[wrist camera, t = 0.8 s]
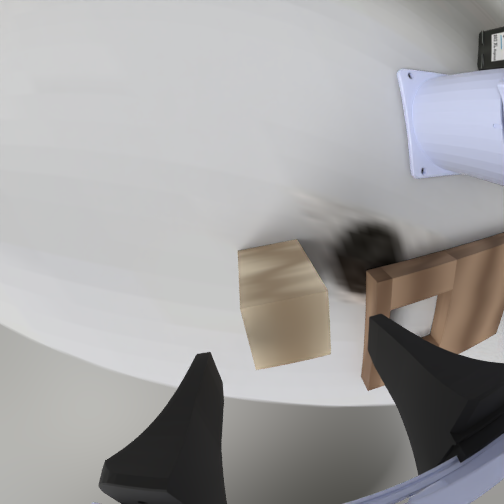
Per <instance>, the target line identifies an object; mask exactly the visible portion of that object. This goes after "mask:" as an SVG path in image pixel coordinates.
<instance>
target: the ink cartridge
mask: <svg viewBox="0 0 504 504" xmlns="http://www.w3.org/2000/svg"><path fill="white" fill-rule="evenodd" d="M478 68H479V69H480V70H489V69H500V68H504V27H500V28H495V29H491V30H488V31H481V33H480V34H479V50H478Z"/></svg>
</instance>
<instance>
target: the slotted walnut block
mask: <svg viewBox="0 0 504 504" xmlns="http://www.w3.org/2000/svg"><path fill="white" fill-rule="evenodd" d="M435 295H438V296H437V302H436V308H435V313H434V319H433V323H432V328H431V333H430V335H428V336H425V337H423V338H422V339H424V340H426V341H428V342H430V343H432V344H434V345H436V346H438V347H440V348H443V349H445V350H448V351H450V352H453V353H456V354H459V353H461V352H463V351H465V350H467V349H469V348H471V347H473V346H475V345H477V344H478V343H480V342H482V341H484V340H486V339H487V338H489V337H491V336H493V335H494V334H496V332H497V329H498V326H499V323H500V320H501V317H502V314H503V311H504V233H500V234H497V235H494V236H491V237H488V238H484V239H481V240H478V241H474V242H471V243H468V244H464V245H461V246H457V247H454V248H450V249H447V250H443V251H440V252H436V253H432V254H429V255H425V256H421V257H418V258H414V259H410V260H406V261H402V262H398V263H394V264H390V265H386V266H382V267H378V268H374V269H370V270H366V318H365V337H364V352H363V364H362V374H361V377H362V379H363V381H364V384H365V386H366V388H367V390H368V391H369V390H372V389H375V388H378V387H381V386H384V385H385V384H384V383H383V381H382V379H381V377H380V376H379V374H378V372H377V370H376V369H375V367H374V364H373V362H372V360H371V357H370V355H369V352H368V350H367V349H368V332H369V317H371V316H374V315H377V314H383V315H385V316H386V317H388V318H389V319H390V310H393V309H396V308H399V307H403V306H406V305H409V304H412V303H415V302H418V301H421V300H424V299H427V298H430V297H433V296H435Z"/></svg>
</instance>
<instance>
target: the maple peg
mask: <svg viewBox="0 0 504 504" xmlns="http://www.w3.org/2000/svg"><path fill="white" fill-rule="evenodd" d="M238 268H239V292H240V310H241V314H242V318H243V321H244V325H245V329H246V333H247V337H248V341H249V345H250V348H251V352H252V356H253V360H254V364H255V367H256V370H259V369H265V368H270V367H275V366H280V365H285V364H290V363H295V362H300V361H304V360H309V359H313V358H317V357H321V356H325V355H329V354H331V344H330V318H329V300H328V290H327V288H326V287H325V285H324V283H323V282H322V280H321V278H320V276H319V275H318V273H317V271H316V270H315V268H314V266H313V265H312V263H311V262H310V260H309V258H308V257H307V255H306V253H305V252H304V250H303V248H302V247H301V245H300V244H299V242H298V240H297V239H296V240H290V241H285V242H280V243H275V244H270V245H265V246H260V247H255V248H250V249H245V250H240V251H238Z"/></svg>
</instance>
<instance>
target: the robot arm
mask: <svg viewBox="0 0 504 504" xmlns="http://www.w3.org/2000/svg"><path fill="white" fill-rule="evenodd" d="M408 74H409V75H410V76H411V79H410V78H409V77H408ZM397 77H398V82H399V87H400V92H401V97H402V103H403V109H404V115H405V122H406V130H407V138H408V147H409V157H410V170H411V175H412V176H413V177H414V178H418V179H419V178H428V177H437V176H446V175H456V174H465V175H468V176H472V177H476V178H479V179H482V180H486V181H489V182H492V183H496V184H499V185H502V186H504V68H500V69H489V70H481V71H473V72H466V73H459V74H453V75H446V74H440V73H434V72H427V71H419V70H410V69H400V70H398V72H397ZM422 168H423V173H421V169H422ZM367 350H368V352H369V355H370V357H371V360H372V362H373V364H374V367H375V369H376V370H377V372H378V374H379V376H380V377H381V379H382V381H383V383H384V384H385V386H386V388H387V389H388V391H389V393H390V395H391V396H392V398H393V400H394V402H395V404H396V406H397V408H398V410H399V413H400V415H401V418H402V420H403V423H404V426H405V428H406V431H407V434H408V437H409V440H410V443H411V447H412V450H413V454H414V458H415V461H416V466H417V470H418V475H419V476H417V477H414V478H412V479H410V480H408V481H405V482H403V483H401V484H398V485H396V486H394V487H391V488H388V489H386V490H383V491H381V492H378V493H375V494H372V495H370V496H366V497H364V498H360V499H357V500H354V501H351V502H347V503H344V504H395V503H397V502H399V501H402V500H404V499H406V498H408V497H410V498H409V501H408V502H407V503H404V504H470V503H471V502H473V501H474V500H475V499H477V498H479V497H480V496H481V495H483V494H484V493H486V492H487V491H488V490H490V489H491V488H492V487H494V486H495V485H496V484H497V483H499V482H500V481H501V480H503V479H504V363H495V362H487V361H482V360H477V359H472V358H468V357H465V356H462V355H459V354H456V353H453V352H450V351H448V350H445V349H443V348H440V347H438V346H436V345H434V344H432V343H430V342H428V341H426V340H424V339H422V338H420V337H419V336H417V335H415V334H413V333H412V332H410V331H408V330H407V329H405V328H403V327H402V326H400V325H399V324H397V323H396V322H394V321H392V320H391V319H389V318H388V317H386V316H385V315H383V314H377V315H374V316H371V317H369V332H368V349H367ZM223 406H224V396H223V382H222V380H221V377H220V375H219V372H218V370H217V368H216V365H215V363H214V360H213V358H212V355H211V352H207V353H201V354H197V355H196V356H195V358H194V360H193V362H192V364H191V366H190V368H189V370H188V371H187V373H186V375H185V377H184V379H183V380H182V382H181V384H180V385H179V387H178V389H177V391H176V392H175V394H174V395H173V397H172V398H171V399H170V401H169V402H168V404H167V405H166V407H165V408H164V409H163V411H162V412H161V413H160V414H159V416H158V417H157V418H156V419H155V420H154V421H153V422H152V423H151V424H150V426H149V427H148V428H147V429H146V430H145V431H144V432H143V433H142V434H141V435H139V437H137V438H136V439H135V440H134V441H133V442H131V443H130V444H129V445H128V446H126V447H125V448H124V449H122V450H121V451H119V452H118V453H116V454H115V455H113V456H112V457H110V458H109V459H107V460H105V463H104V466H103V469H102V473H101V477H100V482H99V488H100V489H101V490H102V491H103V492H104V493H105V494H107V495H108V496H110V497H112V498H113V499H115V500H116V501H118V502H120V503H121V504H227V501H226V494H225V487H224V478H223V467H222V453H221V439H222V422H223ZM413 495H414V496H413ZM411 496H412V497H411ZM92 504H99V503H95V502H92Z"/></svg>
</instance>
